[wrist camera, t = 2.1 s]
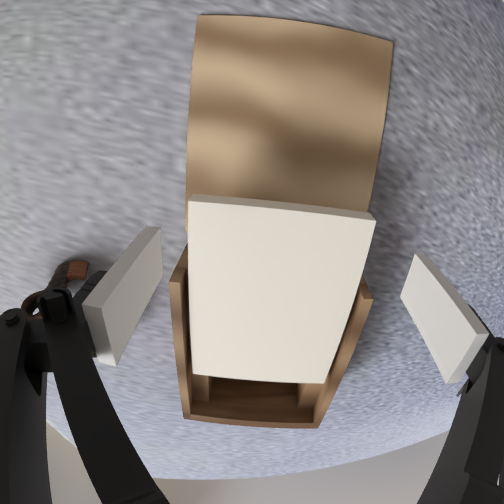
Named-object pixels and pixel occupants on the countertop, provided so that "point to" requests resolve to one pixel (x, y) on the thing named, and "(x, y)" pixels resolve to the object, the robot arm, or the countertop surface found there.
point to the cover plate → (271, 285)
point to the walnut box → (251, 391)
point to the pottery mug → (56, 285)
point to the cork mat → (285, 111)
